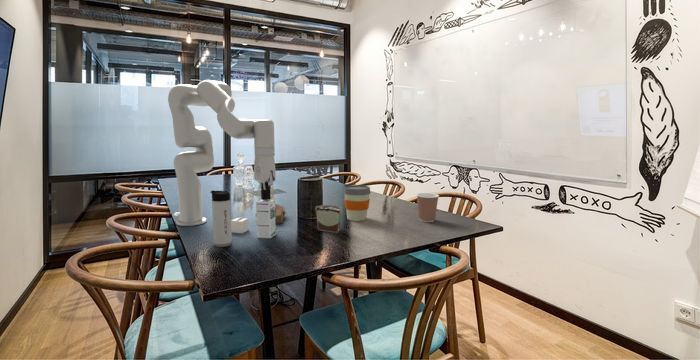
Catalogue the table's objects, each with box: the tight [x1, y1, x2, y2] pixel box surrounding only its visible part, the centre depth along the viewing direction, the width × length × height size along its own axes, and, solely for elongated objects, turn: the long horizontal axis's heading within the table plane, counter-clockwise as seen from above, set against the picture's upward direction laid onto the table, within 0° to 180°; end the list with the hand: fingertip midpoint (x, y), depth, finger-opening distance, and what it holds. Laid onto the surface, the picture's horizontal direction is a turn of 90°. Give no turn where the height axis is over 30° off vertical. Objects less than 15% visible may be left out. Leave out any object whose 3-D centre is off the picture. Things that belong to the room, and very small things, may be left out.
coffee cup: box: [416, 192, 440, 223], centre depth 176 cm, size 10×10×12 cm
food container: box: [314, 204, 343, 234], centre depth 159 cm, size 12×6×10 cm, turn 65°
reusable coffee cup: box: [343, 184, 371, 222], centre depth 179 cm, size 13×13×15 cm
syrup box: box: [255, 198, 277, 239], centre depth 149 cm, size 6×6×14 cm
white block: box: [231, 217, 250, 234], centre depth 156 cm, size 5×5×5 cm
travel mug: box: [210, 189, 233, 248], centre depth 138 cm, size 6×7×20 cm
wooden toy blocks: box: [255, 203, 286, 225], centre depth 175 cm, size 8×13×18 cm
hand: (265, 199), depth 148 cm, fingers closed
